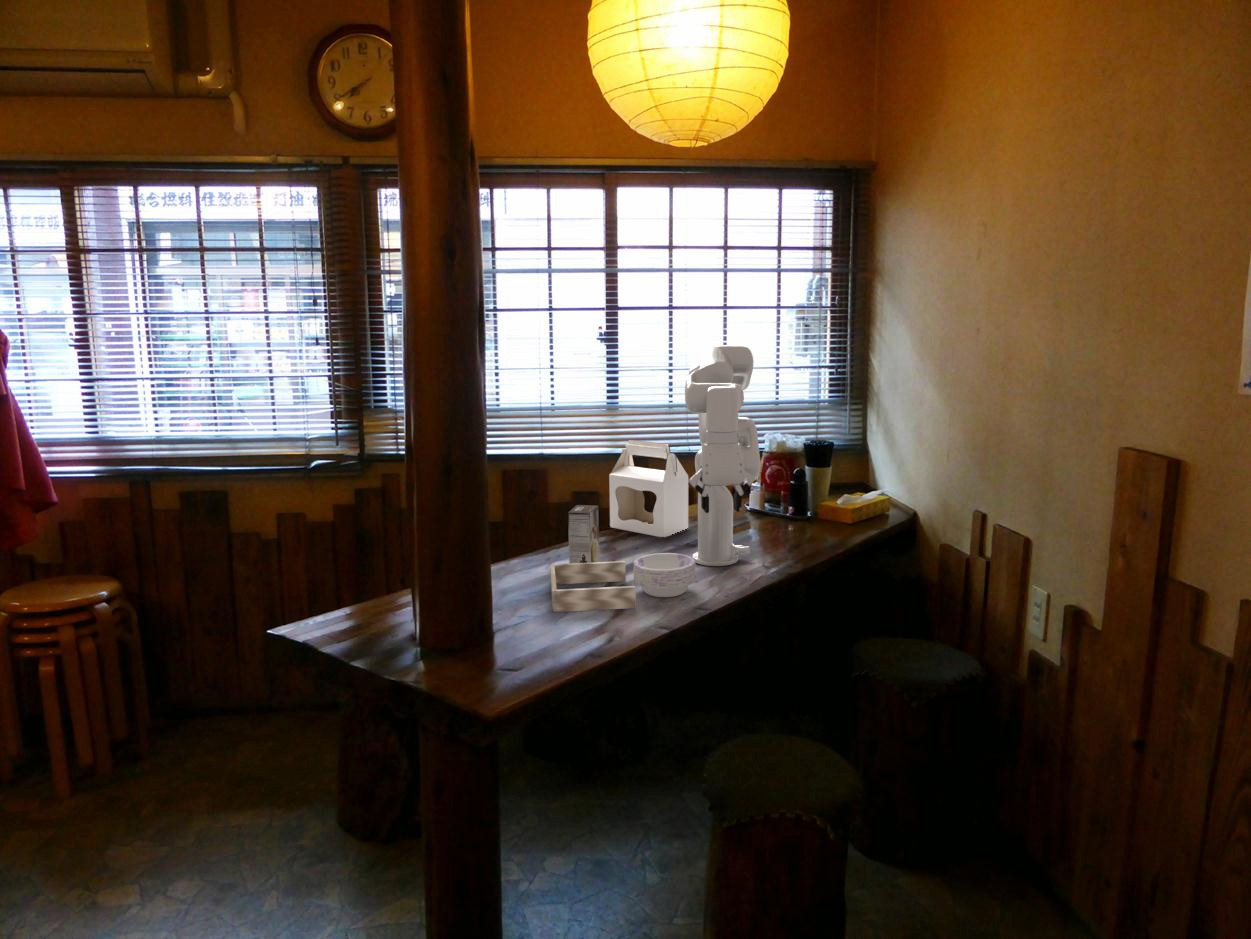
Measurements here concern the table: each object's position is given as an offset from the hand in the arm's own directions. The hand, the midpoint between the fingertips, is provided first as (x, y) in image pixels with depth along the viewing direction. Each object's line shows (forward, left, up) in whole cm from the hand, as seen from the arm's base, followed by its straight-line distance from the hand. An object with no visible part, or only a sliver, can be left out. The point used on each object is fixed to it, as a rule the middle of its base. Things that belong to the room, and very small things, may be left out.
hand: (721, 510), depth 195 cm
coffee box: (+32, -24, -20) cm, 45 cm away
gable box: (+9, -62, -20) cm, 66 cm away
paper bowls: (+14, 0, -20) cm, 24 cm away
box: (+31, 0, -20) cm, 37 cm away
